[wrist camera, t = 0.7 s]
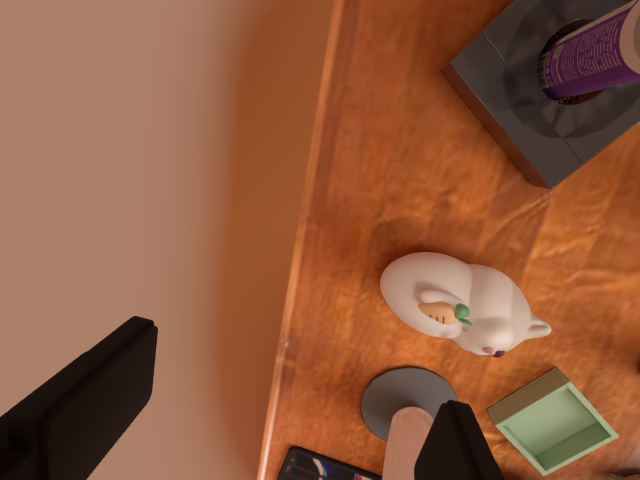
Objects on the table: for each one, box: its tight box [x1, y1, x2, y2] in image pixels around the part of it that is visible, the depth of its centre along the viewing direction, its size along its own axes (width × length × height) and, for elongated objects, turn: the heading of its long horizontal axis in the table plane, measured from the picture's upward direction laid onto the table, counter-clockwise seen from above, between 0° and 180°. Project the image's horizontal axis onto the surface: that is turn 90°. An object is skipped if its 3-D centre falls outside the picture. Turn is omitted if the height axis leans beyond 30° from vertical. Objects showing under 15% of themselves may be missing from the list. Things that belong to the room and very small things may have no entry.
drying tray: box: [486, 367, 619, 476], centre depth 36 cm, size 9×9×2 cm
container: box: [537, 0, 640, 100], centre depth 21 cm, size 5×5×15 cm
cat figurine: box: [380, 252, 551, 357], centre depth 30 cm, size 10×8×15 cm
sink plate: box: [440, 0, 640, 189], centre depth 27 cm, size 14×14×3 cm
